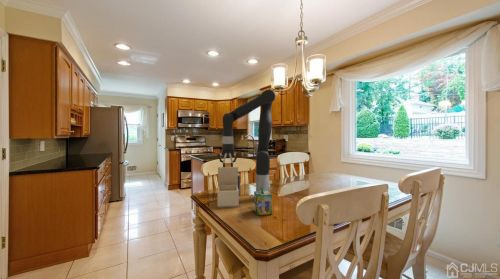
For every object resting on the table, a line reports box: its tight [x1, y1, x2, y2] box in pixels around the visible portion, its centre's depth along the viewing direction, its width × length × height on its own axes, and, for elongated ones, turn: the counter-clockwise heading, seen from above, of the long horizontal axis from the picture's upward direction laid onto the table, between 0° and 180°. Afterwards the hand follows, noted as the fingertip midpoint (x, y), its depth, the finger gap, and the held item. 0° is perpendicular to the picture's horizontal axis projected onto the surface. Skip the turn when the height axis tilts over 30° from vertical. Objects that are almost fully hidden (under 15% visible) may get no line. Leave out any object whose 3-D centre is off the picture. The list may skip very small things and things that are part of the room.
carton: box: [217, 184, 240, 209], centre depth 140 cm, size 13×15×10 cm
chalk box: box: [253, 186, 273, 216], centre depth 125 cm, size 9×9×15 cm
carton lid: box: [217, 162, 239, 186], centre depth 146 cm, size 13×14×6 cm
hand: (227, 168), depth 146 cm, fingers closed on carton lid, 4 cm apart
